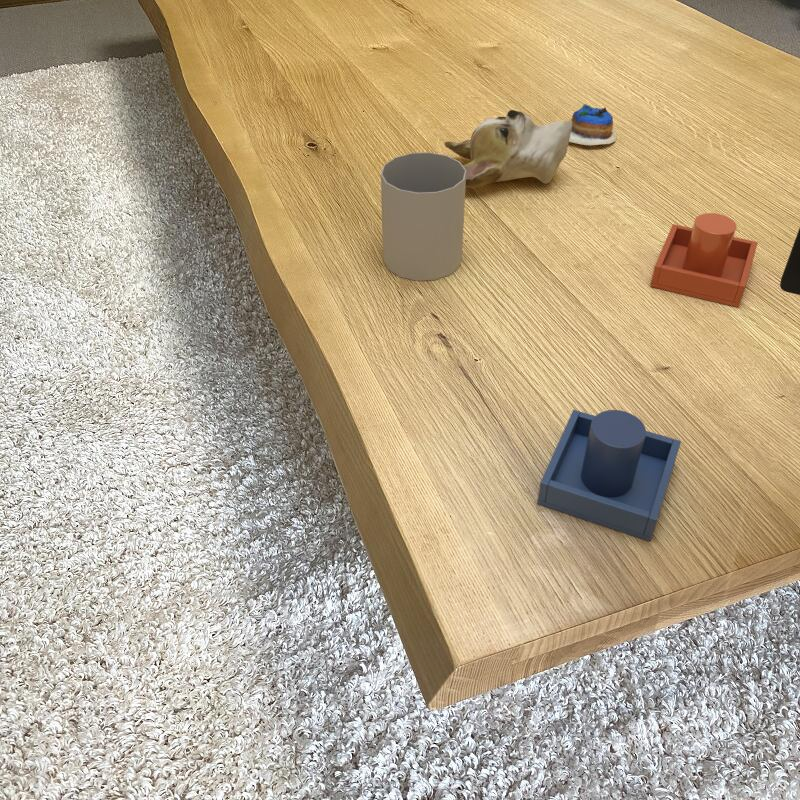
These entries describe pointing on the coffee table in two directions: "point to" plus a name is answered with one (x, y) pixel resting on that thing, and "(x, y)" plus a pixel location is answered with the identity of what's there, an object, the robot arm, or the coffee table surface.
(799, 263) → the robot arm
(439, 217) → the cup
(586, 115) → the dessert
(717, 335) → the coffee table surface
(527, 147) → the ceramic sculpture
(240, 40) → the coffee table surface
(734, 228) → the terracotta peg
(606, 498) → the blue tray
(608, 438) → the blue peg
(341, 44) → the coffee table surface
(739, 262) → the terracotta tray
